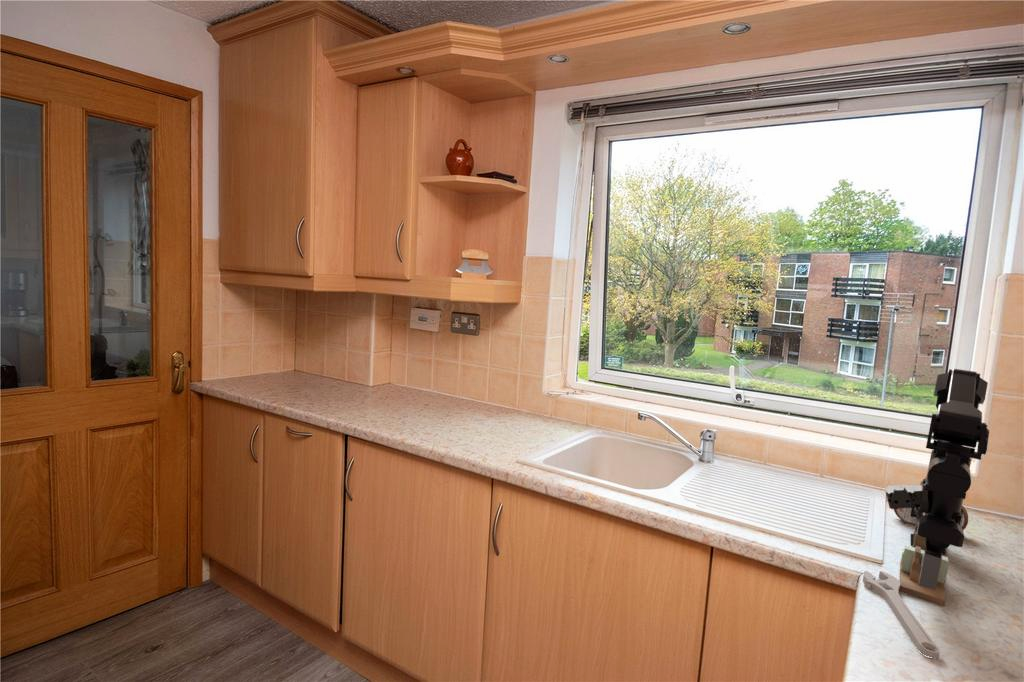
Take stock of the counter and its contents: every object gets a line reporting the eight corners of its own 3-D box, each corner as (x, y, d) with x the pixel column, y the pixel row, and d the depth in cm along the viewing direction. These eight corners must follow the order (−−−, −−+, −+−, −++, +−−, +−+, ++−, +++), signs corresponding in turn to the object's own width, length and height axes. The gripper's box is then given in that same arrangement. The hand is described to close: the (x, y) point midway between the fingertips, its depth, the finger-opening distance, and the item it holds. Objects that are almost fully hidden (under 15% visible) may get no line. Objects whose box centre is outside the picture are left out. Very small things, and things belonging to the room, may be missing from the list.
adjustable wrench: (941, 663, 90) (944, 653, 90) (894, 651, 92) (896, 641, 92) (894, 582, 113) (895, 573, 113) (857, 574, 115) (858, 565, 115)
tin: (964, 535, 138) (971, 502, 136) (965, 540, 135) (972, 506, 134) (890, 515, 146) (895, 484, 145) (889, 520, 143) (895, 487, 142)
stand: (900, 563, 121) (907, 527, 120) (941, 575, 117) (948, 538, 116) (899, 591, 110) (906, 552, 108) (944, 606, 106) (952, 565, 105)
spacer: (899, 565, 117) (903, 544, 117) (944, 579, 113) (949, 557, 113) (899, 569, 116) (903, 548, 115) (945, 583, 112) (949, 561, 111)
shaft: (918, 561, 112) (923, 532, 111) (933, 565, 110) (939, 536, 109) (918, 585, 103) (925, 553, 102) (935, 590, 101) (941, 558, 100)
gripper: (894, 455, 115) (880, 528, 117) (891, 481, 100) (875, 564, 102) (964, 470, 109) (948, 547, 111) (972, 500, 93) (953, 589, 96)
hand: (929, 560), depth 105 cm, fingers closed
